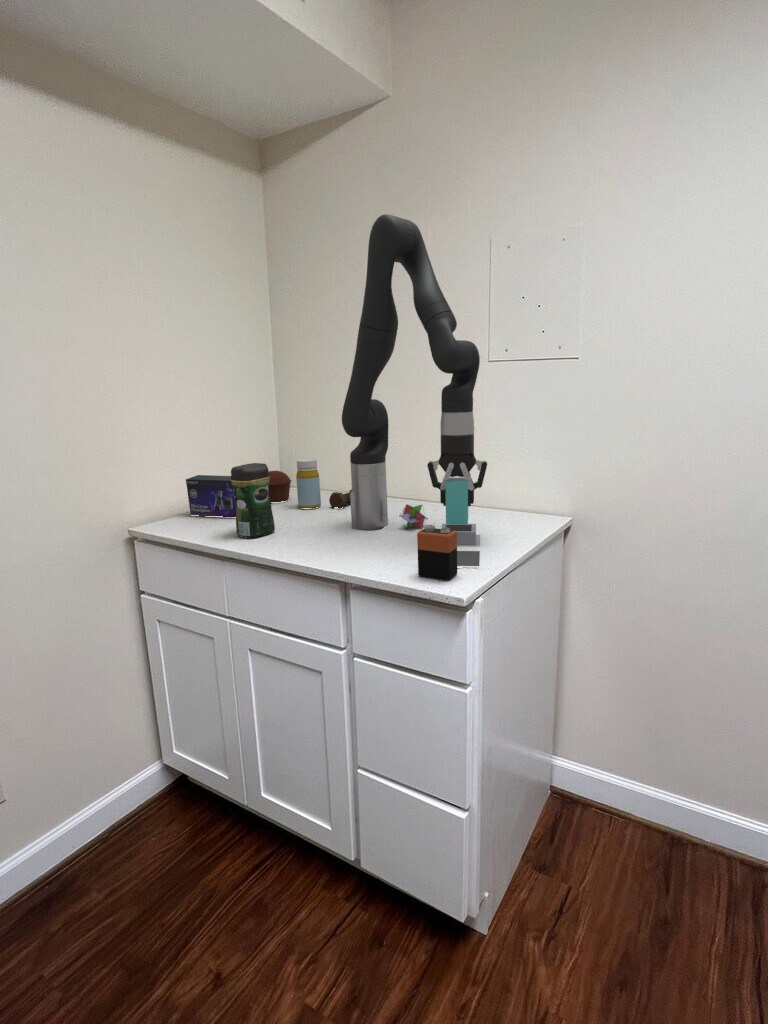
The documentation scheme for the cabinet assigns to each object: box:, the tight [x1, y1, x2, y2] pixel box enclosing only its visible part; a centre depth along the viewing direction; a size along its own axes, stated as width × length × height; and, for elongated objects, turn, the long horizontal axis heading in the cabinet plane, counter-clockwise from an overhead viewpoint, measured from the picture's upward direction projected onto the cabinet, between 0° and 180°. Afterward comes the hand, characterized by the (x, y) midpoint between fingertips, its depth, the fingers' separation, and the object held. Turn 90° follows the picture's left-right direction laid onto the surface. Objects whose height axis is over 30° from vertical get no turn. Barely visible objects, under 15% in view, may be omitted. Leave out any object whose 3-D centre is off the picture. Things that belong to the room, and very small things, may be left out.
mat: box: [457, 550, 481, 569], centre depth 123 cm, size 10×10×1 cm
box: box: [185, 474, 236, 517], centre depth 174 cm, size 17×7×12 cm, turn 72°
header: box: [440, 523, 481, 548], centre depth 136 cm, size 10×10×4 cm
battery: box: [416, 524, 458, 581], centre depth 113 cm, size 4×7×10 cm, turn 59°
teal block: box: [445, 477, 469, 524], centre depth 134 cm, size 5×5×10 cm
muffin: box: [268, 470, 292, 502], centre depth 192 cm, size 12×11×10 cm
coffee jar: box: [230, 462, 276, 538], centre depth 149 cm, size 10×8×19 cm
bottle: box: [295, 458, 322, 509], centre depth 180 cm, size 7×7×15 cm
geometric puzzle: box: [399, 503, 429, 530], centre depth 149 cm, size 7×7×8 cm
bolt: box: [328, 488, 352, 508], centre depth 184 cm, size 6×5×15 cm
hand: (457, 505), depth 135 cm, fingers closed on teal block, 5 cm apart
